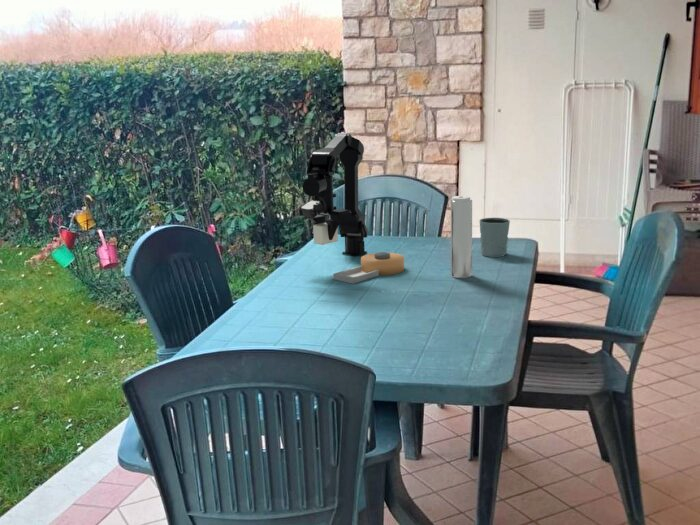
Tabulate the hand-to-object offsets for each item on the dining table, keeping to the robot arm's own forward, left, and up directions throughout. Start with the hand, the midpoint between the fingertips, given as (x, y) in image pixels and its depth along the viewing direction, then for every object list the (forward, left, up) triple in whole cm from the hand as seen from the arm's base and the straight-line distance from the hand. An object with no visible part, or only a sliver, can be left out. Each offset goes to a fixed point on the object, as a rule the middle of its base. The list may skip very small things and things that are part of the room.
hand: (326, 239), depth 260 cm
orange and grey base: (+13, +7, -11) cm, 18 cm away
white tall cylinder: (+38, +22, -11) cm, 45 cm away
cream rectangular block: (0, 0, -1) cm, 1 cm away
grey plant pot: (+30, +52, -11) cm, 61 cm away
